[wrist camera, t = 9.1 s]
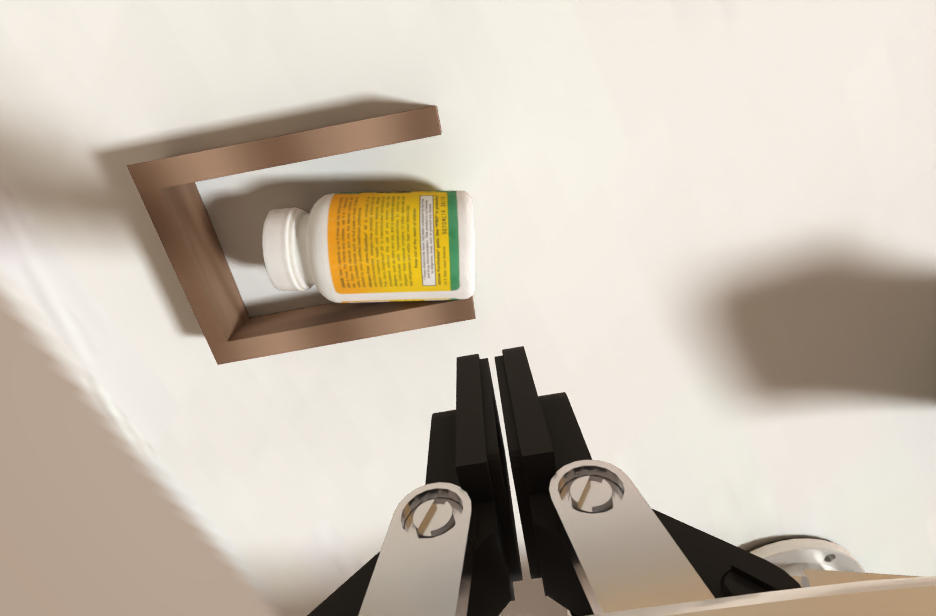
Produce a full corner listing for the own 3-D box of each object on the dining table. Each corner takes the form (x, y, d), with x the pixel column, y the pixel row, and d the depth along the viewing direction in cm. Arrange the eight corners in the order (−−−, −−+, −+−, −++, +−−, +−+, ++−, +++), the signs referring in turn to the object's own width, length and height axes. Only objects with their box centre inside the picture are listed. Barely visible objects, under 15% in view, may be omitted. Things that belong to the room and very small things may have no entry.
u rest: (436, 105, 23) (435, 105, 20) (472, 297, 27) (475, 318, 24) (164, 158, 23) (127, 165, 21) (240, 338, 28) (217, 364, 25)
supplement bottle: (473, 313, 25) (291, 320, 24) (469, 226, 27) (300, 231, 26) (477, 270, 20) (247, 277, 19) (471, 165, 22) (262, 171, 21)
